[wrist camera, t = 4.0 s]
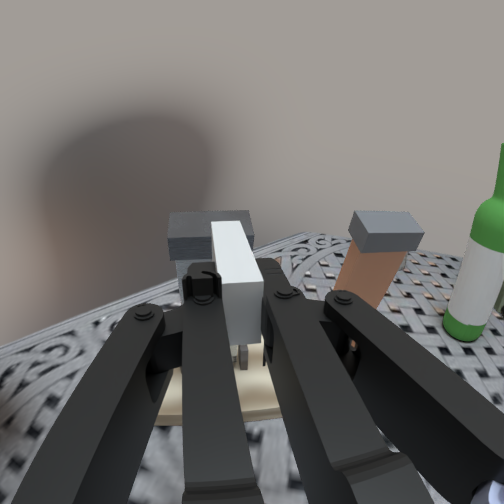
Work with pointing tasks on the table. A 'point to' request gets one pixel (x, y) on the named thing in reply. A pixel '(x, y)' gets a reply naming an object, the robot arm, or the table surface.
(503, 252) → the wine bottle
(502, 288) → the olive plank with panel
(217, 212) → the grey lever
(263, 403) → the switch panel
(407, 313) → the table surface
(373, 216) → the terracotta lever
